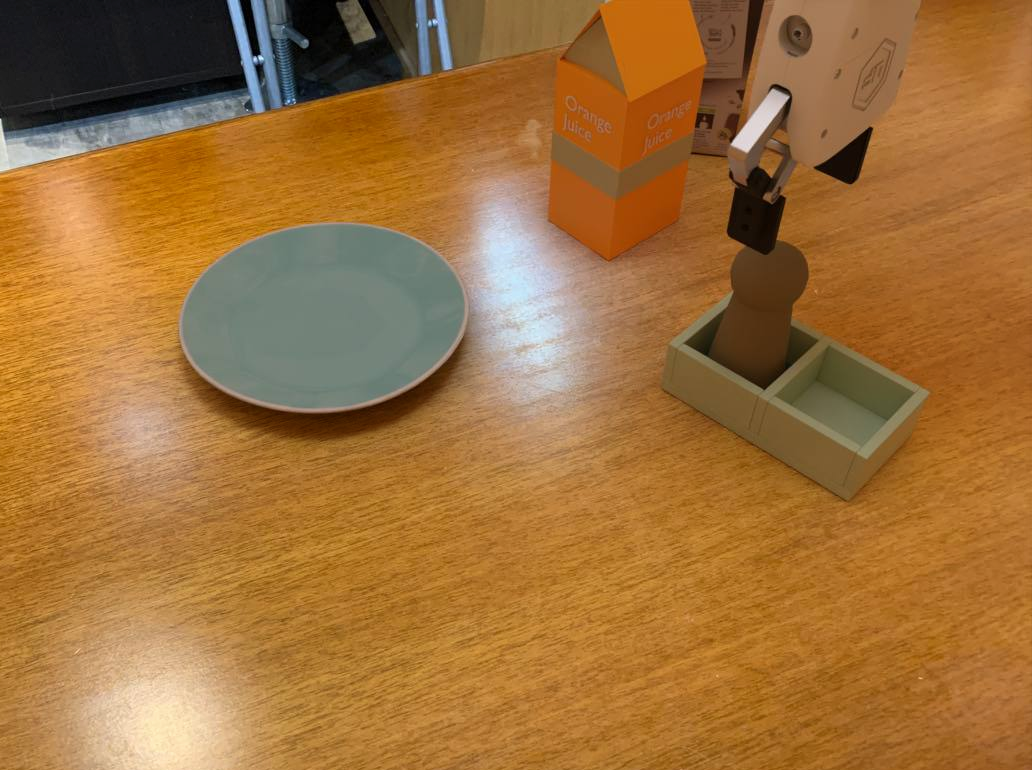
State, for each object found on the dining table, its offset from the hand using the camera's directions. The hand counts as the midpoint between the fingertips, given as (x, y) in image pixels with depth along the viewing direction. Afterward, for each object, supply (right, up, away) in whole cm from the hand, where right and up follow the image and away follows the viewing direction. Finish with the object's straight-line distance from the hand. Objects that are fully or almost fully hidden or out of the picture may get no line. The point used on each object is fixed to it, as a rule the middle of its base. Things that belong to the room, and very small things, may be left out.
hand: (793, 208), depth 70 cm
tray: (+2, -12, +11) cm, 16 cm away
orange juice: (-9, +7, +25) cm, 27 cm away
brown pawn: (-1, -9, +12) cm, 15 cm away
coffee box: (+1, +18, +34) cm, 38 cm away
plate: (-32, -5, +16) cm, 36 cm away
